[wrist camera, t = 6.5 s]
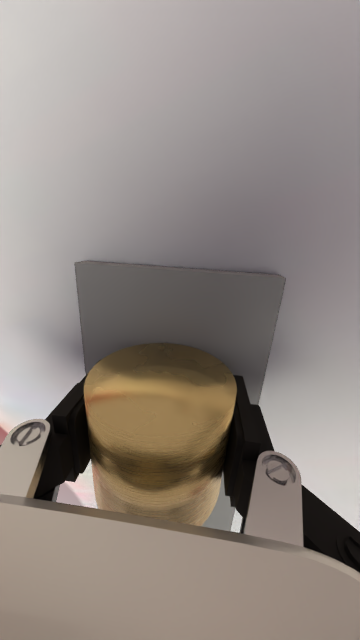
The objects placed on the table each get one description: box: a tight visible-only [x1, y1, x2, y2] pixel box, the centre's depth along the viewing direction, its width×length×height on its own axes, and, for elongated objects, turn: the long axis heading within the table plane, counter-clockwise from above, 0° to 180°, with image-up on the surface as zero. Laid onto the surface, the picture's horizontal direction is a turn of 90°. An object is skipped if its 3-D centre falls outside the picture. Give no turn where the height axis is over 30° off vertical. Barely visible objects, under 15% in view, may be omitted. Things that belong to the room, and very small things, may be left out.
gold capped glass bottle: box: [84, 343, 237, 526], centre depth 12 cm, size 17×6×6 cm, turn 176°
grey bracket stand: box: [75, 261, 286, 531], centre depth 12 cm, size 30×10×8 cm, turn 177°
